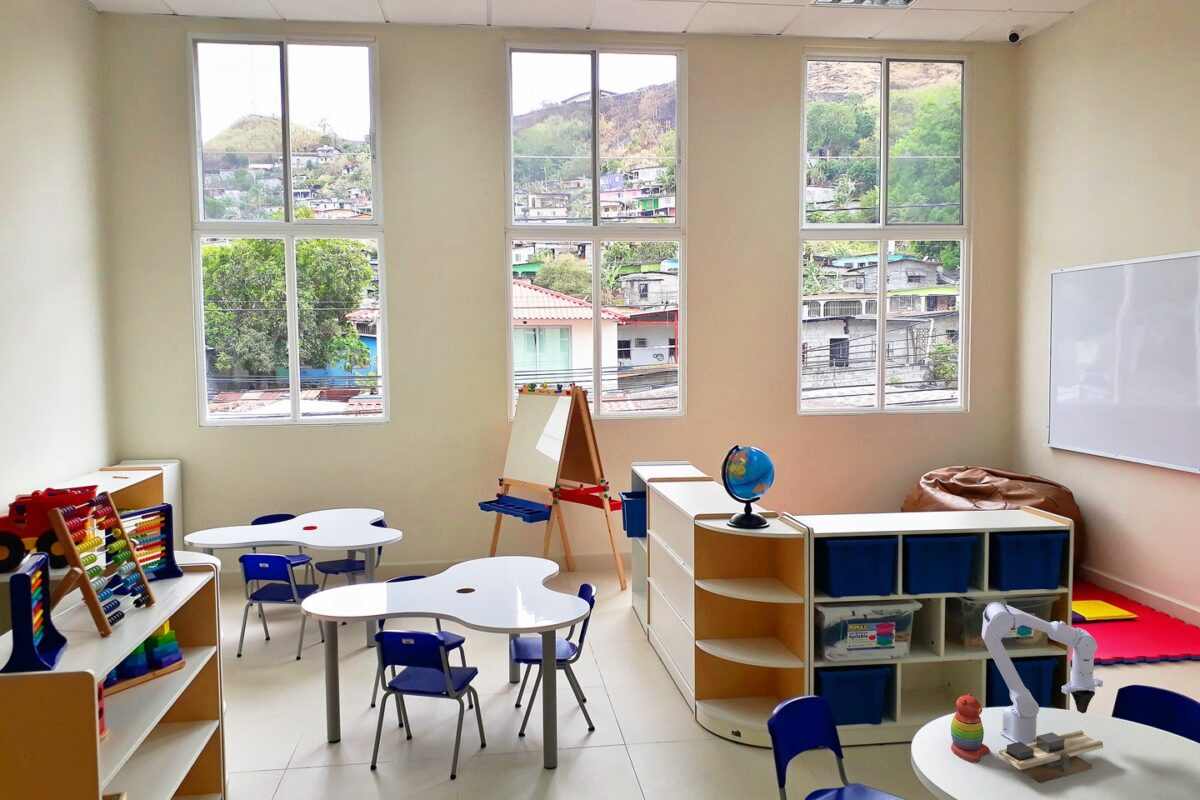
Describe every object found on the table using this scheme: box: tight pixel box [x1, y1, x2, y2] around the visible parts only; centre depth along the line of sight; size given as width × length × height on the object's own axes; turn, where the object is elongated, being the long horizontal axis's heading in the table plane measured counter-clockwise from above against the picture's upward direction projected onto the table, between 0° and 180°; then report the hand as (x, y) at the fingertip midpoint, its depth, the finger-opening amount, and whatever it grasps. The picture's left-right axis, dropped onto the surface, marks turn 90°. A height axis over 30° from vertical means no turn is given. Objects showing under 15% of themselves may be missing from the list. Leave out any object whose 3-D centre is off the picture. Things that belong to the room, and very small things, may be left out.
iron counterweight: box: [1006, 742, 1034, 761], centre depth 249 cm, size 5×5×3 cm
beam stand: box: [1009, 739, 1093, 784], centre depth 253 cm, size 11×20×6 cm, turn 110°
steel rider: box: [1036, 731, 1065, 754], centre depth 253 cm, size 4×6×4 cm
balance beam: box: [998, 730, 1104, 771], centre depth 253 cm, size 8×32×2 cm, turn 110°
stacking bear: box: [950, 693, 991, 763], centre depth 262 cm, size 11×10×18 cm
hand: (1081, 711), depth 264 cm, fingers closed
